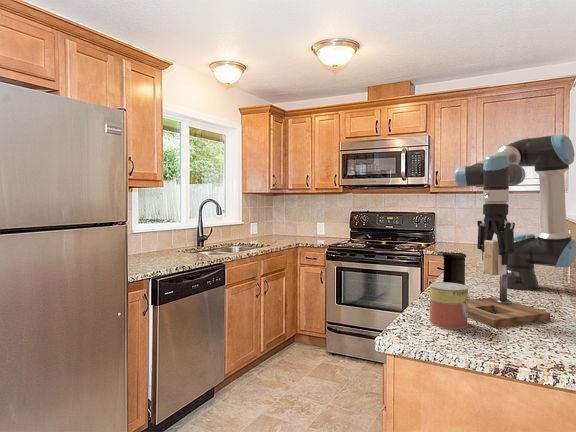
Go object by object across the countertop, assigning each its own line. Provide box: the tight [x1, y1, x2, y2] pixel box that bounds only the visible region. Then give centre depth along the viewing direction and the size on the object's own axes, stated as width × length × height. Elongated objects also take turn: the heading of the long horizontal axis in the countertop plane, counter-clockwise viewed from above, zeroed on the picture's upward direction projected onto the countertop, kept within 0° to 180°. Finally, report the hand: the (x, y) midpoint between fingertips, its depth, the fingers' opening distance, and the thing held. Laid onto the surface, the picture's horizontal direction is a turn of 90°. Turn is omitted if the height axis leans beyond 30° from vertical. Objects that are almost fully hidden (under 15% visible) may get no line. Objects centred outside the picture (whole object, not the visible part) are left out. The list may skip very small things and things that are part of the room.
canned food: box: [429, 281, 469, 330], centre depth 129 cm, size 11×11×12 cm
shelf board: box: [468, 296, 551, 329], centre depth 138 cm, size 23×22×2 cm
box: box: [483, 239, 505, 276], centre depth 135 cm, size 5×4×11 cm
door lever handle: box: [495, 269, 520, 304], centre depth 142 cm, size 5×8×12 cm, turn 17°
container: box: [442, 252, 467, 285], centre depth 158 cm, size 9×9×18 cm
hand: (494, 272), depth 135 cm, fingers closed on box, 6 cm apart
